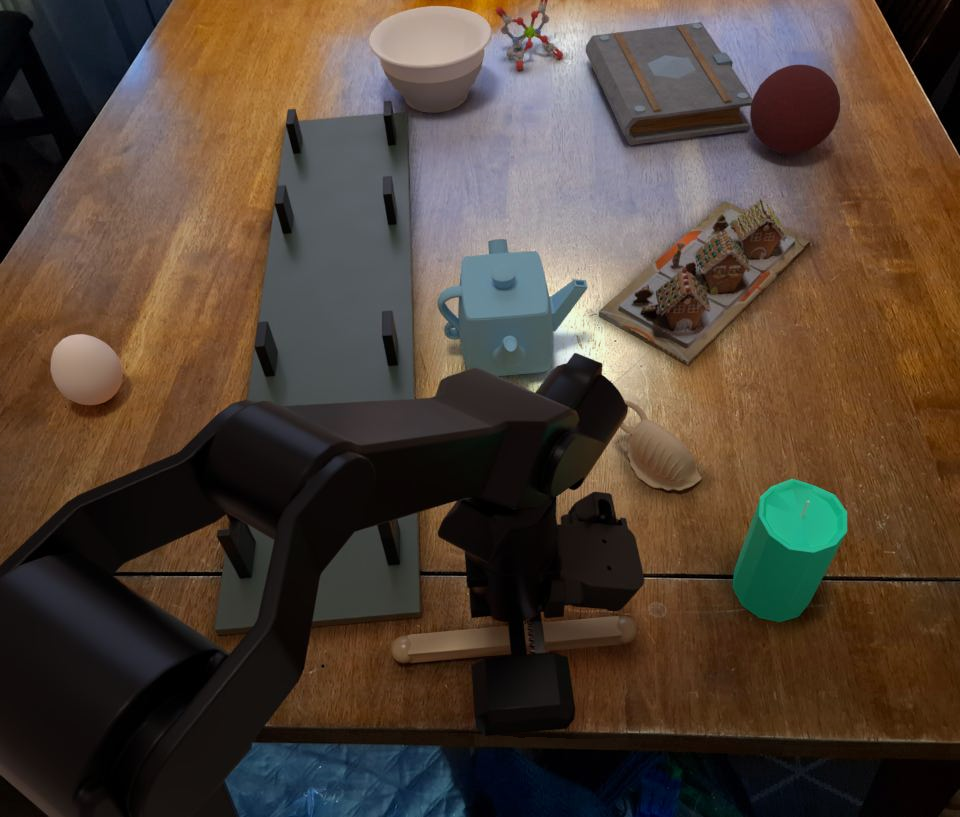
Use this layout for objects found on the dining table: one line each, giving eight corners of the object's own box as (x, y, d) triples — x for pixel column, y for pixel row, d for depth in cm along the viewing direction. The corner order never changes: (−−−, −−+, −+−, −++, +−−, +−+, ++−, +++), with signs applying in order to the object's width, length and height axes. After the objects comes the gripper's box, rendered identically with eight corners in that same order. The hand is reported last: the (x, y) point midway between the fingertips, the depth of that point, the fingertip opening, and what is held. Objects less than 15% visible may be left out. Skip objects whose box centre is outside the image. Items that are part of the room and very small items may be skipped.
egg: (103, 427, 81) (70, 373, 75) (57, 407, 83) (20, 353, 77) (146, 383, 84) (117, 329, 78) (100, 365, 86) (68, 310, 80)
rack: (421, 617, 67) (410, 570, 61) (217, 635, 67) (187, 590, 61) (407, 118, 113) (400, 64, 107) (287, 128, 113) (274, 75, 107)
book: (585, 65, 119) (586, 30, 115) (699, 50, 120) (705, 15, 116) (622, 148, 106) (625, 112, 102) (751, 132, 107) (759, 95, 103)
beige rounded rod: (638, 646, 64) (640, 635, 63) (392, 668, 64) (389, 657, 63) (633, 622, 65) (635, 610, 64) (392, 643, 65) (389, 632, 64)
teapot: (440, 293, 90) (432, 216, 83) (572, 283, 90) (575, 205, 83) (446, 425, 79) (437, 349, 71) (597, 413, 79) (603, 336, 71)
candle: (827, 598, 66) (874, 513, 57) (768, 636, 64) (807, 555, 55) (773, 541, 69) (809, 452, 60) (715, 575, 68) (743, 489, 58)
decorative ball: (839, 137, 105) (863, 60, 97) (810, 180, 100) (833, 102, 92) (761, 116, 109) (778, 40, 101) (730, 156, 104) (745, 79, 96)
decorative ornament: (670, 506, 72) (678, 469, 68) (602, 446, 76) (605, 408, 72) (703, 480, 74) (713, 443, 69) (634, 423, 78) (640, 384, 74)
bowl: (354, 101, 116) (343, 40, 110) (434, 54, 123) (429, -6, 117) (437, 141, 109) (431, 79, 102) (518, 89, 116) (517, 27, 110)
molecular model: (493, 51, 123) (491, -1, 117) (542, 37, 125) (542, -15, 119) (515, 73, 119) (514, 20, 113) (566, 58, 121) (567, 5, 115)
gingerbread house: (598, 317, 87) (601, 268, 82) (723, 207, 97) (732, 157, 92) (687, 366, 82) (696, 317, 77) (809, 245, 92) (824, 194, 87)
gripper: (671, 667, 47) (643, 759, 59) (613, 407, 59) (600, 527, 70) (468, 684, 46) (482, 773, 58) (452, 421, 58) (466, 539, 70)
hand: (514, 642), depth 64 cm, fingers open, 9 cm apart
